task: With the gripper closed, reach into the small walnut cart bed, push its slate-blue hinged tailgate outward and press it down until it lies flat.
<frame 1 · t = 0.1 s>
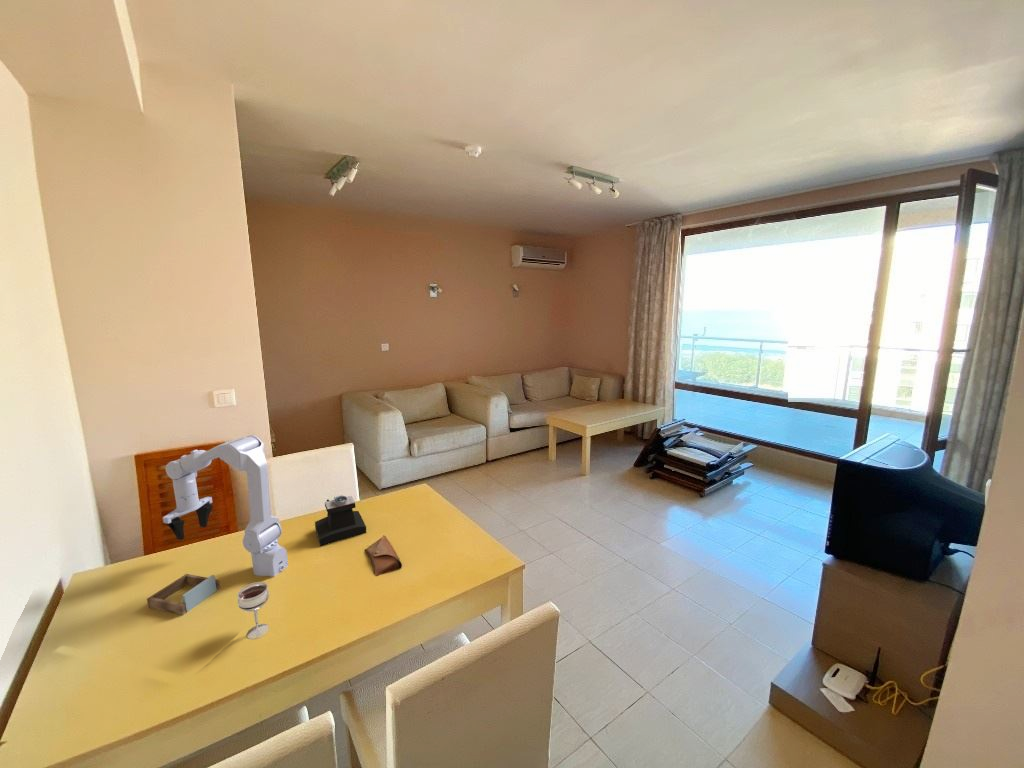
hand: (192, 532, 134), 10 cm above the table, tool pointing down, fingers open, 7 cm apart
sunglasses case: (382, 560, 138), on the table
wineglass: (257, 631, 106), on the table
tailgate: (200, 593, 115), point 4 cm above the table, hinge at 0.0°
camera: (340, 531, 155), on the table
cart bed: (186, 601, 117), on the table
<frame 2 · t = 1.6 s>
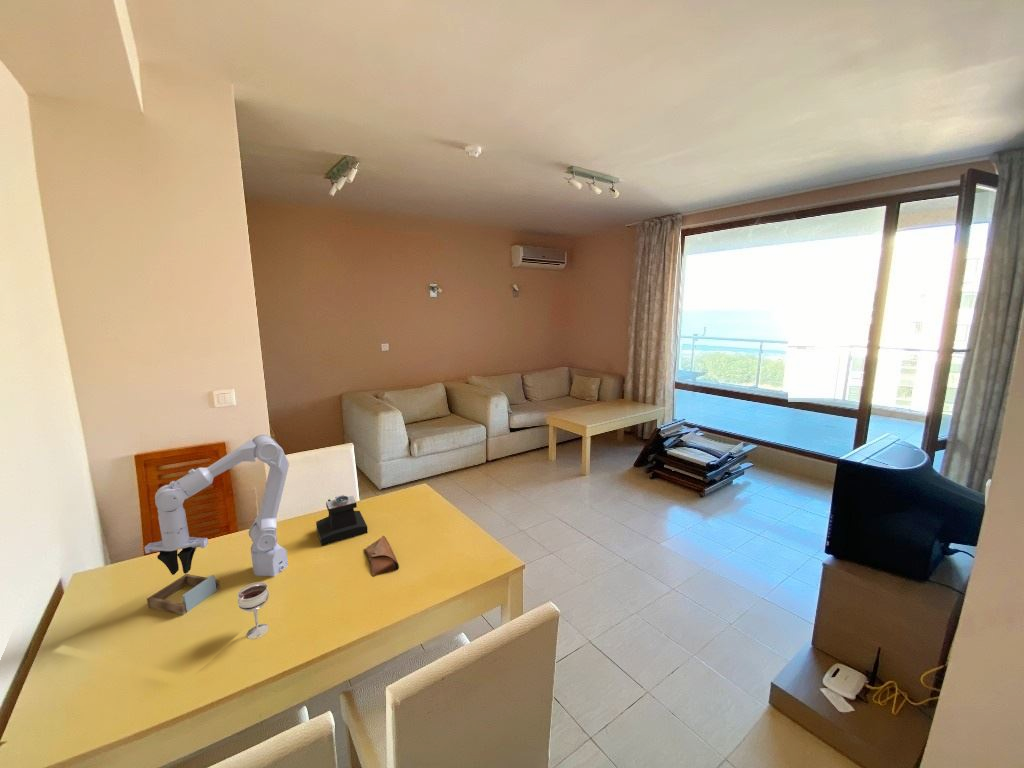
hand: (181, 572, 115), 9 cm above the table, tool pointing down, fingers closed
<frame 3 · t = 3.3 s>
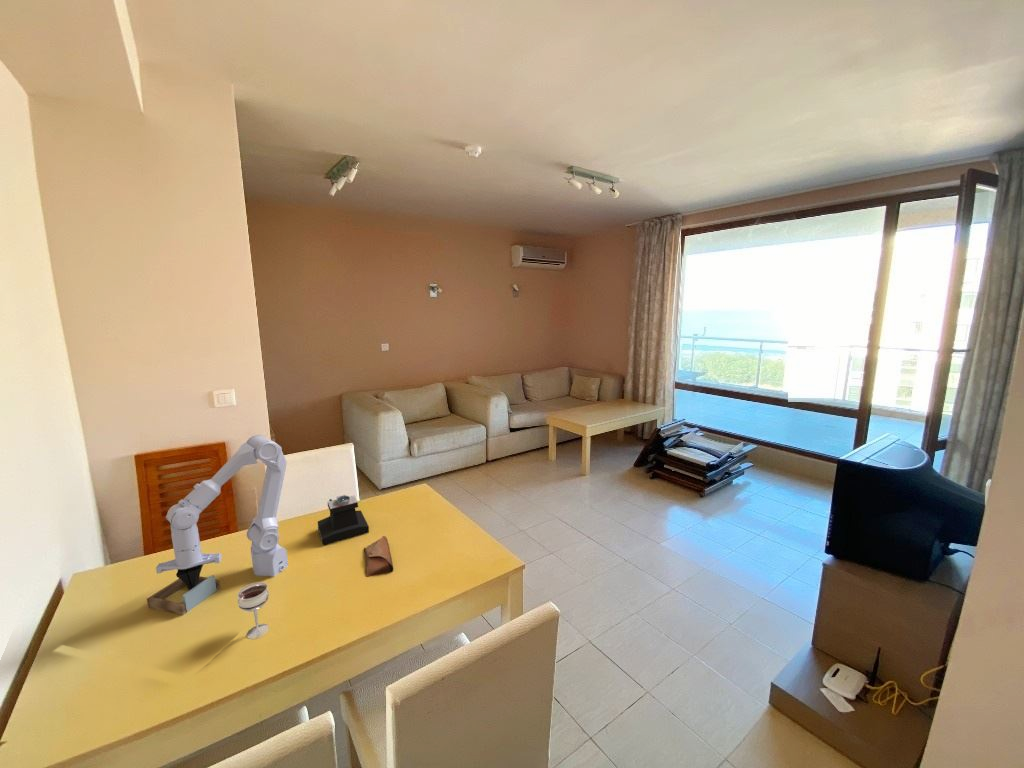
hand: (193, 589, 115), 4 cm above the table, tool pointing down, fingers closed
tailgate: (200, 593, 115), point 4 cm above the table, hinge at 0.0°, touching gripper
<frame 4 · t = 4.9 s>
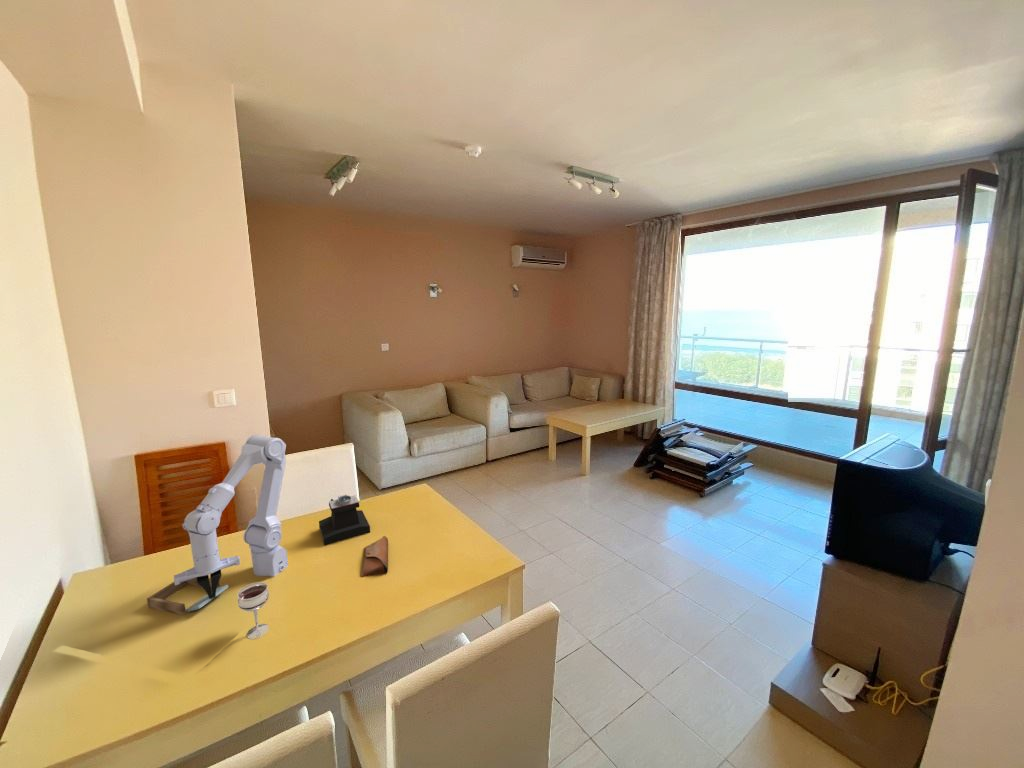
hand: (212, 596, 114), 3 cm above the table, tool pointing down, fingers closed, pressing on tailgate
tailgate: (207, 598, 115), point 3 cm above the table, hinge at 66.8°, touching gripper
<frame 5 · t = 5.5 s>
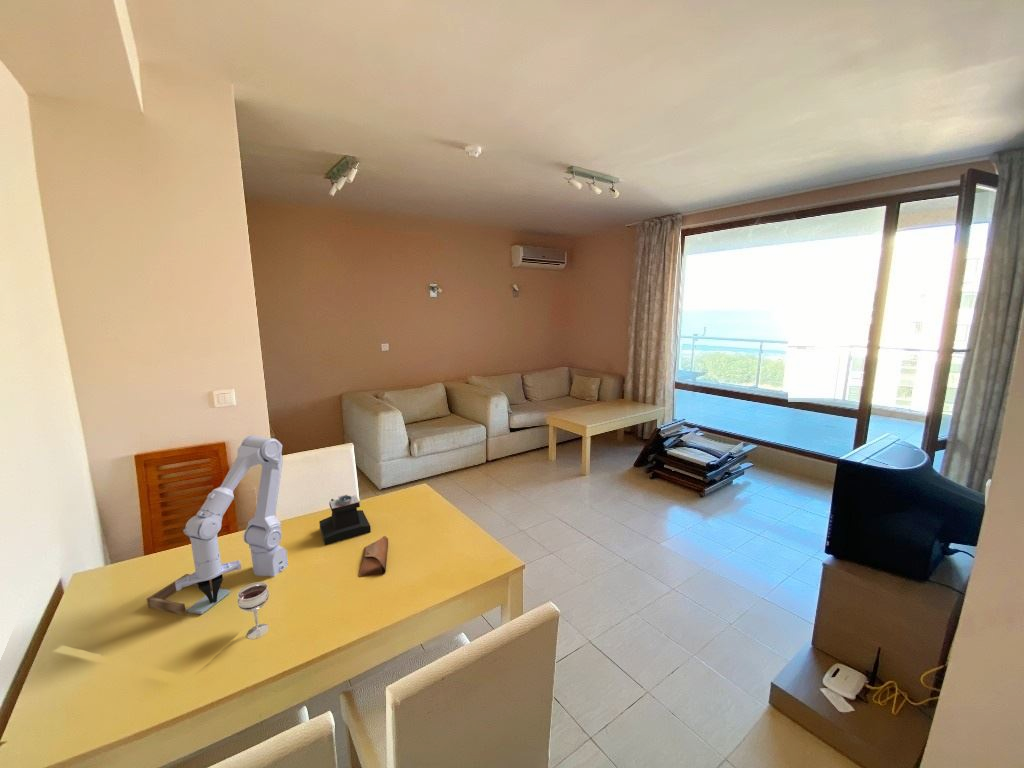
hand: (213, 601, 114), 2 cm above the table, tool pointing down, fingers closed, pressing on tailgate
tailgate: (209, 600, 115), point 2 cm above the table, hinge at 86.3°, touching gripper
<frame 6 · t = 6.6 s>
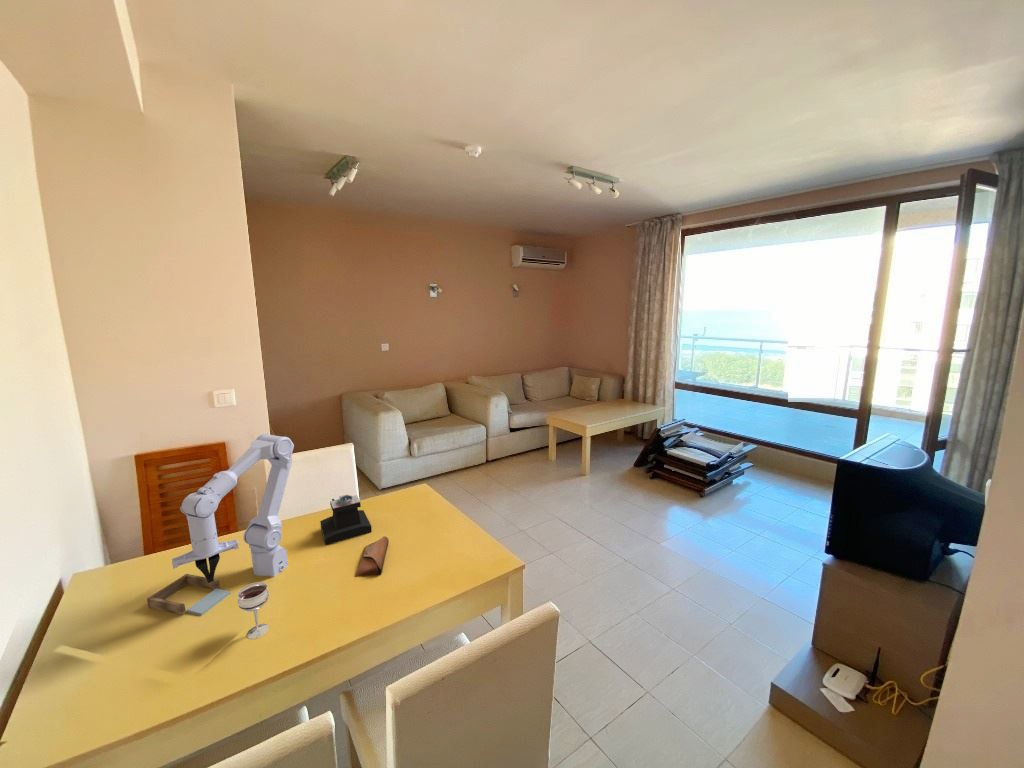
hand: (210, 580, 113), 8 cm above the table, tool pointing down, fingers closed
tailgate: (209, 601, 115), point 1 cm above the table, hinge at 92.5°
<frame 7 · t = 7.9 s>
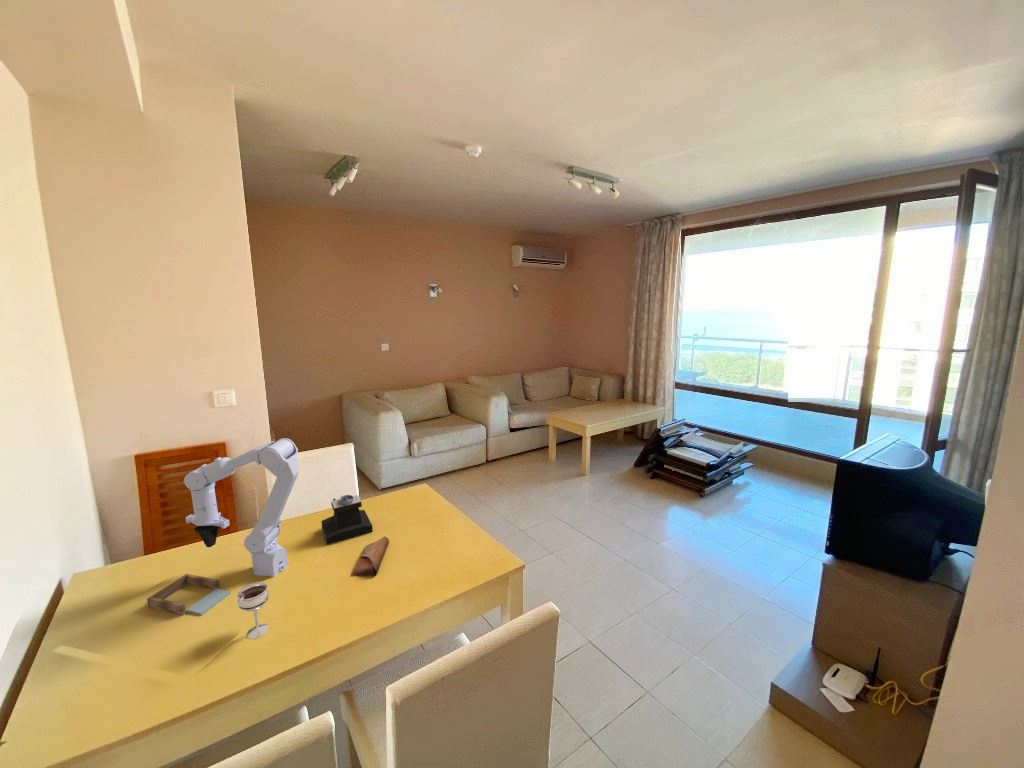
hand: (211, 545, 128), 9 cm above the table, tool pointing down, fingers closed
tailgate: (209, 601, 115), point 1 cm above the table, hinge at 92.8°
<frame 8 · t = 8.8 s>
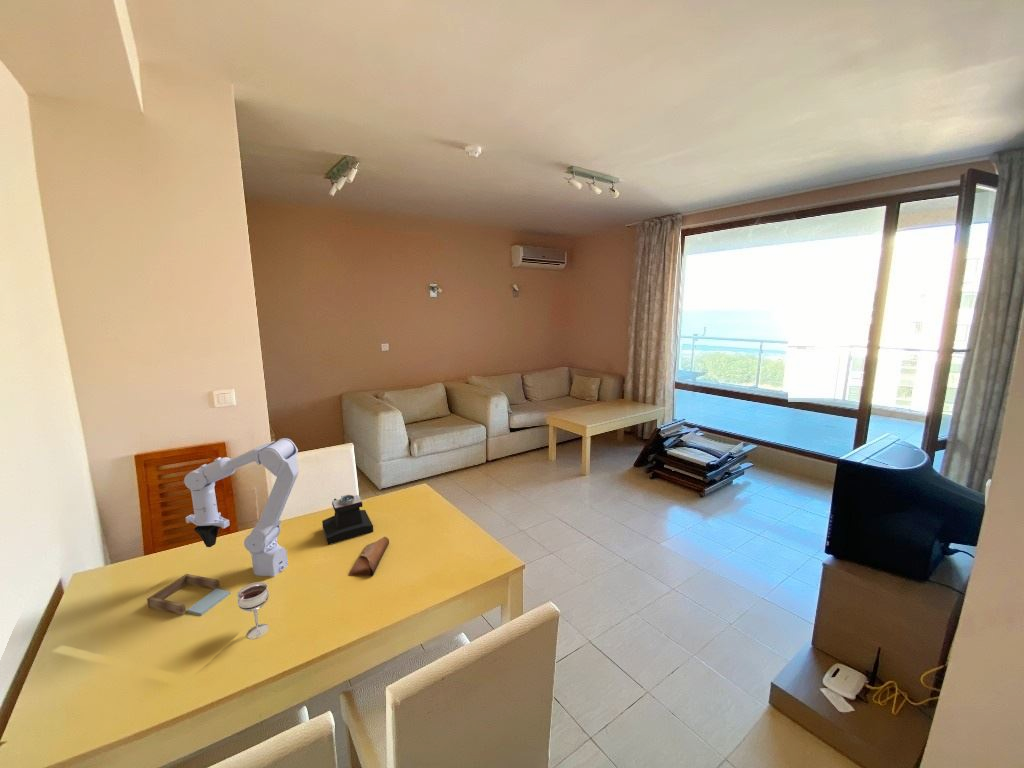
hand: (211, 545, 128), 9 cm above the table, tool pointing down, fingers closed
at the end: tailgate at +93° (first picture: +0°) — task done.
